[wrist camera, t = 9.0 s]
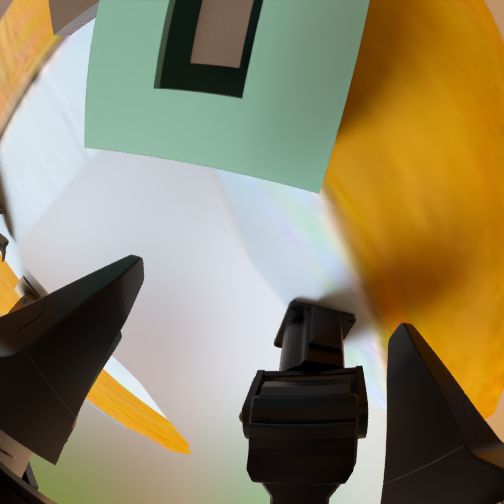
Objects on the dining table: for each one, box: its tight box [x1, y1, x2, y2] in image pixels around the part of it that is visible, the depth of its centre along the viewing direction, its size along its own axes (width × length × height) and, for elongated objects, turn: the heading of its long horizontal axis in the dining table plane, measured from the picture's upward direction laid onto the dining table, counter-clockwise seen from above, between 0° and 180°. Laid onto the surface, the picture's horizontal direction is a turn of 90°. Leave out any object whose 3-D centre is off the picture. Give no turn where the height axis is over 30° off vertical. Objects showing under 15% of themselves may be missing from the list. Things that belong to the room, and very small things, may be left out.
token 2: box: [190, 0, 263, 71], centre depth 12 cm, size 5×2×5 cm, turn 170°
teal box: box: [85, 0, 370, 194], centre depth 11 cm, size 14×12×7 cm
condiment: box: [9, 277, 40, 313], centre depth 31 cm, size 7×8×12 cm
